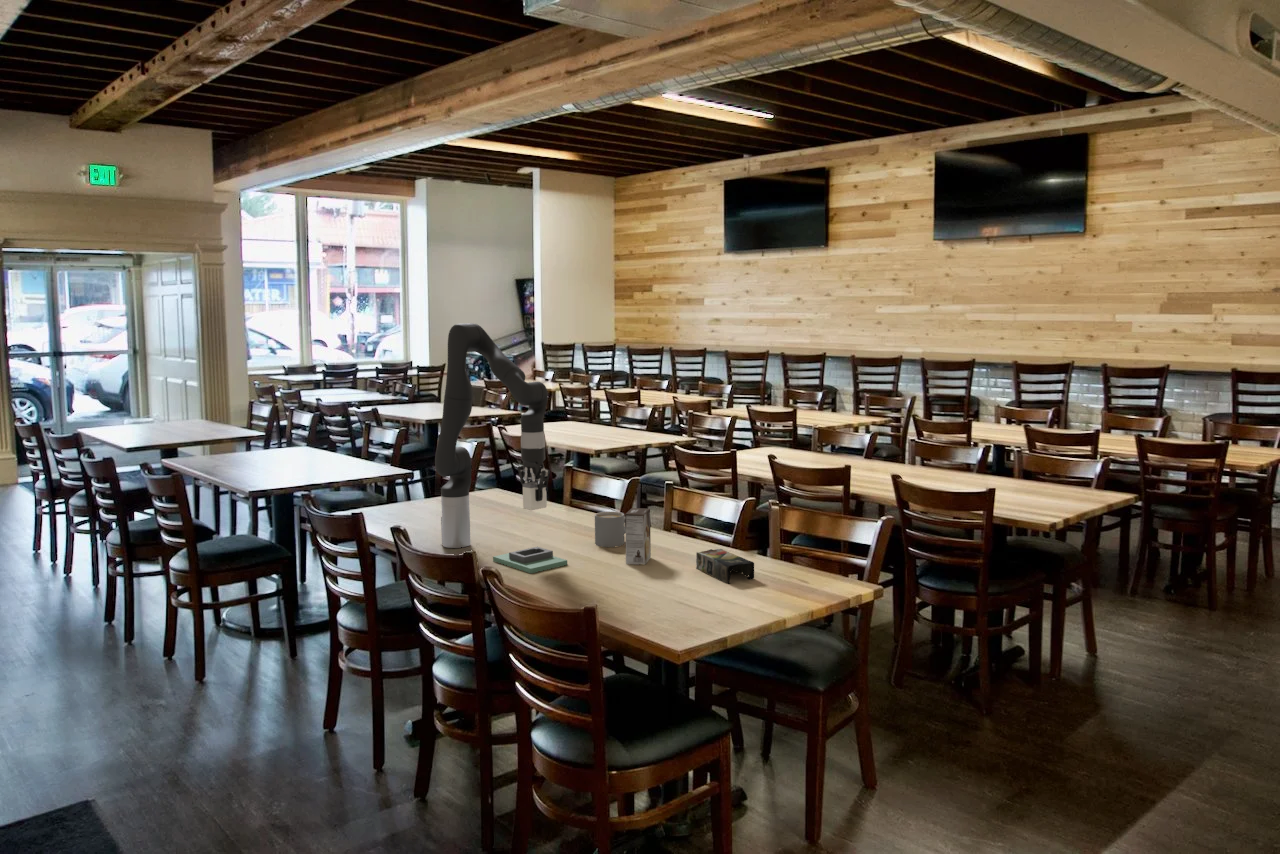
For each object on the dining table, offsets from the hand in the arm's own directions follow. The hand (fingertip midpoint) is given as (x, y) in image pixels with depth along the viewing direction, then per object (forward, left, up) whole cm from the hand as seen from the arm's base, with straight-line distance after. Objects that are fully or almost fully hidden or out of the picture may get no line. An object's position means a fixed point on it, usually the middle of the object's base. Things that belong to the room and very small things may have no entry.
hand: (534, 499), depth 307 cm
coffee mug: (+1, +32, -20) cm, 38 cm away
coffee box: (+24, +22, -20) cm, 38 cm away
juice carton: (+53, +31, -20) cm, 64 cm away
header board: (+2, -4, -19) cm, 20 cm away
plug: (0, 0, -3) cm, 3 cm away
